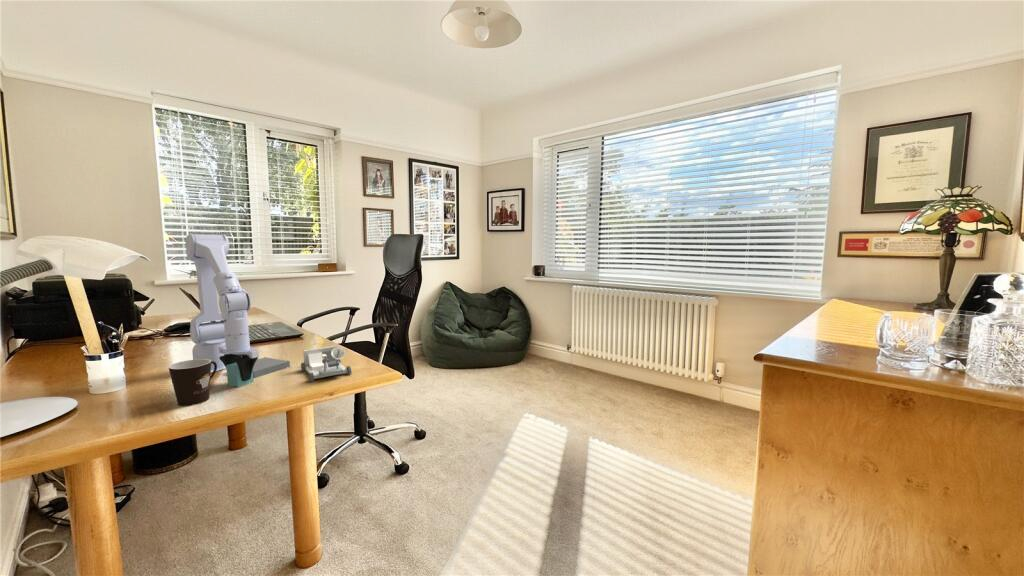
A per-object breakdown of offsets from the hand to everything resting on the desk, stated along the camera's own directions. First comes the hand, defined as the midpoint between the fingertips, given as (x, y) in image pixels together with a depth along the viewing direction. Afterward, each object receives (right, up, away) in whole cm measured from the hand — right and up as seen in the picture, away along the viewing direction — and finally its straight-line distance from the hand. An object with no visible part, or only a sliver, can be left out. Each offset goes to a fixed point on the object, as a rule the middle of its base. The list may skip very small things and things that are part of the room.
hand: (240, 379), depth 116 cm
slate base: (-2, -1, +13) cm, 13 cm away
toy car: (+21, -1, +10) cm, 23 cm away
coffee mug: (-3, -3, -11) cm, 12 cm away
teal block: (0, -1, 0) cm, 1 cm away
